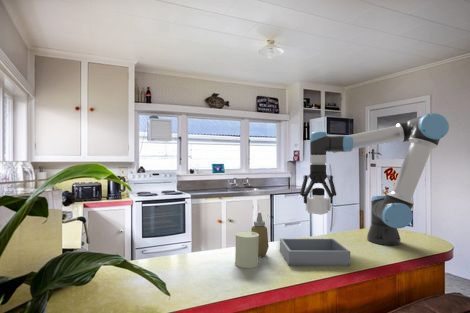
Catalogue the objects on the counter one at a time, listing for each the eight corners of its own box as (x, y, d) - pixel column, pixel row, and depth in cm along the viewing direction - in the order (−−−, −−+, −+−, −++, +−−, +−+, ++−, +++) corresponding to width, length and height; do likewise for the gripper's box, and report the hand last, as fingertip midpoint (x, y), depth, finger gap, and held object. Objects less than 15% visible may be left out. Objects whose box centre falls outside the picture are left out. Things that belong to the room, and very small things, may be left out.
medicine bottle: (328, 212, 143) (328, 188, 143) (321, 214, 138) (321, 189, 138) (314, 211, 148) (314, 186, 148) (307, 212, 143) (307, 187, 143)
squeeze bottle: (269, 258, 122) (270, 214, 122) (249, 258, 122) (250, 214, 122) (267, 252, 130) (268, 211, 130) (249, 252, 130) (249, 210, 130)
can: (262, 266, 113) (262, 235, 113) (239, 269, 110) (240, 236, 110) (252, 258, 121) (253, 229, 121) (231, 261, 118) (232, 230, 118)
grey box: (332, 251, 133) (333, 238, 133) (349, 265, 115) (350, 251, 115) (279, 250, 132) (279, 238, 132) (288, 265, 114) (288, 251, 114)
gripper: (338, 163, 147) (337, 209, 147) (293, 163, 146) (293, 209, 146) (344, 164, 140) (344, 211, 140) (297, 164, 139) (296, 211, 139)
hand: (317, 210), depth 143 cm, fingers closed on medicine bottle, 10 cm apart
